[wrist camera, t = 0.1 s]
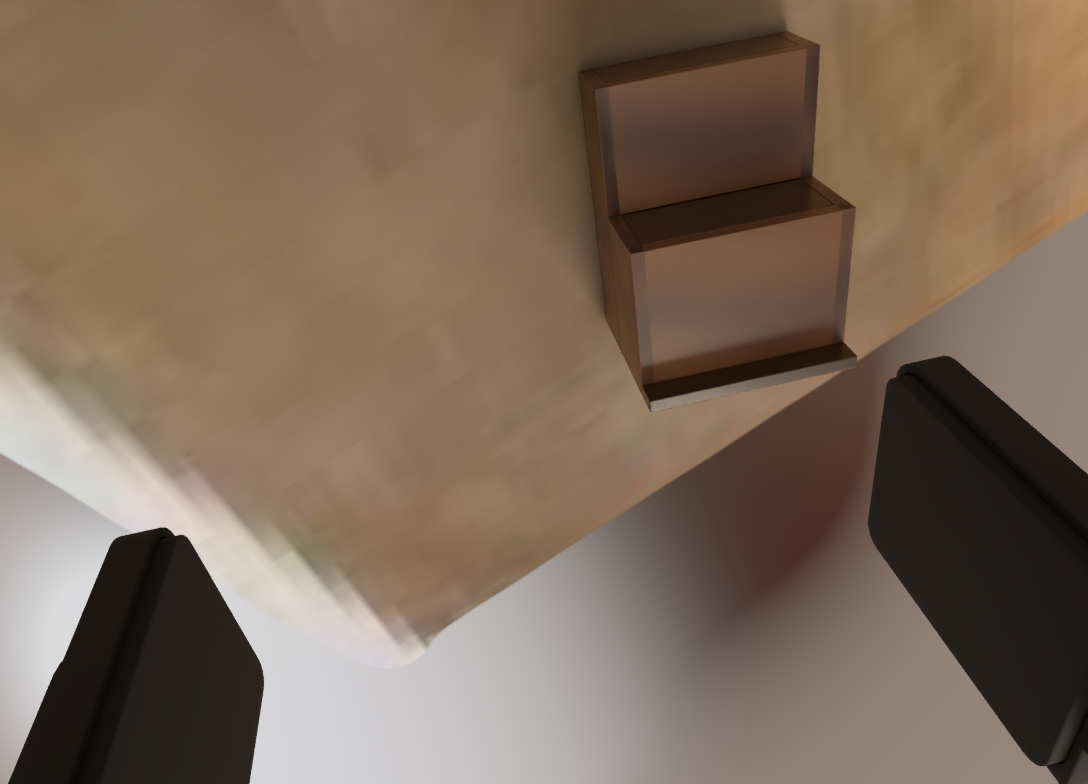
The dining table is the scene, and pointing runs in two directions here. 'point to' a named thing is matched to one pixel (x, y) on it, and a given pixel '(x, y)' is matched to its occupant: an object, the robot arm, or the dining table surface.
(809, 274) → the spice rack
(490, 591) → the dining table surface
